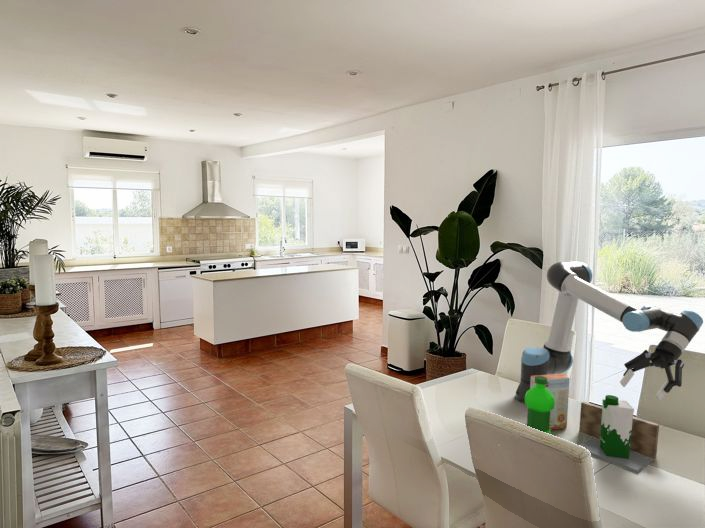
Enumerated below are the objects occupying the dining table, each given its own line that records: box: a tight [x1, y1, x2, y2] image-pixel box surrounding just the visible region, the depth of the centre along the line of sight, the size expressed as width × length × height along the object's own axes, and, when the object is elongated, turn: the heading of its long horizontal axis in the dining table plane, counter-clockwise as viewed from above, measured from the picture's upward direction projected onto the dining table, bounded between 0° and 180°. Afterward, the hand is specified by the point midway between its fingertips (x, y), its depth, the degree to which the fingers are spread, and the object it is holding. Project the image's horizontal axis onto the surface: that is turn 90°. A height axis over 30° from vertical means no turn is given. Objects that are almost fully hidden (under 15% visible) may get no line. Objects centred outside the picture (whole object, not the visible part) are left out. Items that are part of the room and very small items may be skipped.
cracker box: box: [530, 373, 570, 431], centre depth 187 cm, size 14×6×21 cm, turn 104°
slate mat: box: [579, 437, 653, 474], centre depth 166 cm, size 20×13×1 cm, turn 40°
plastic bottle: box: [524, 376, 555, 435], centre depth 172 cm, size 10×10×25 cm
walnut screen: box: [578, 401, 660, 460], centre depth 174 cm, size 26×2×12 cm, turn 40°
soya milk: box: [599, 394, 635, 459], centre depth 165 cm, size 9×9×20 cm
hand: (639, 391), depth 168 cm, fingers open, 13 cm apart
